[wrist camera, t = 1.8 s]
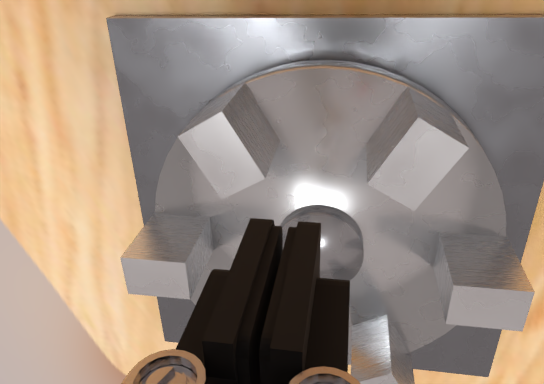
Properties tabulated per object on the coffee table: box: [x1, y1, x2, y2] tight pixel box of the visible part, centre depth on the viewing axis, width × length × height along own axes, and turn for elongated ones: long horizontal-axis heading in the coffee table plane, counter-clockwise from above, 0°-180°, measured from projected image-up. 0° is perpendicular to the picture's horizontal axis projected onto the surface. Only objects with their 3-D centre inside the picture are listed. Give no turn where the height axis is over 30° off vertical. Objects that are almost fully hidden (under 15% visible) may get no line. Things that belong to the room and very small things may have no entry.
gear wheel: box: [121, 60, 534, 384], centre depth 26 cm, size 20×20×6 cm
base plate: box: [106, 14, 544, 377], centre depth 29 cm, size 24×24×1 cm
